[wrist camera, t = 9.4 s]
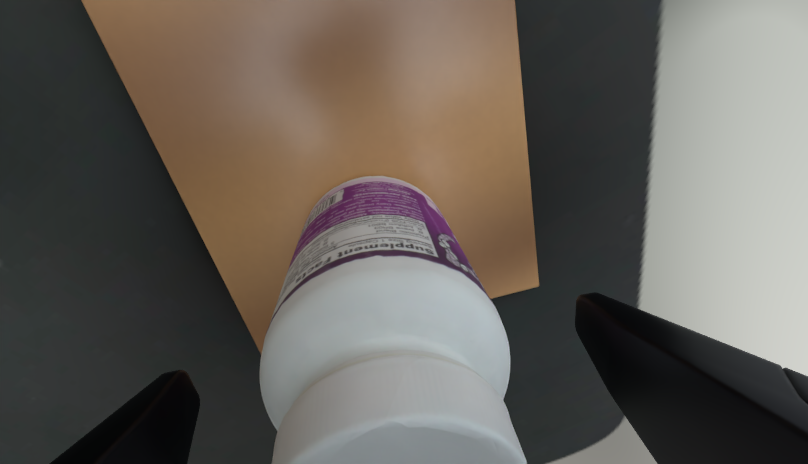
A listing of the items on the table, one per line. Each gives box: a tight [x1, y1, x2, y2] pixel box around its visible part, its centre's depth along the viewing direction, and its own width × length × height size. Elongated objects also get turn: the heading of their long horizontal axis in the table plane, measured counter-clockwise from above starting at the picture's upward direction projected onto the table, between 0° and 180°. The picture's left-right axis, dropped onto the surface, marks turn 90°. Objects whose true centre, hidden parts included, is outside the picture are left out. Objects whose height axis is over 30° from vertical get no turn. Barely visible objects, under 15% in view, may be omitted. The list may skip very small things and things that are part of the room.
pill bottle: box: [260, 176, 527, 464], centre depth 10 cm, size 5×5×10 cm
